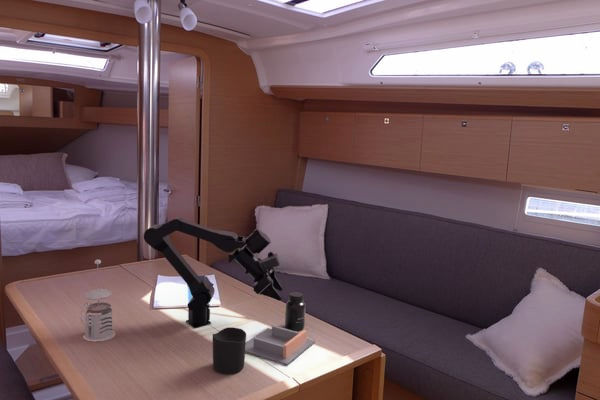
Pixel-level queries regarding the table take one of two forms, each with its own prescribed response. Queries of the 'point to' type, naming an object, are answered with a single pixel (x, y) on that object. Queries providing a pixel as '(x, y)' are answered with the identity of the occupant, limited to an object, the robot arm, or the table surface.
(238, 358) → the pen holder
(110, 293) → the french press
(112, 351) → the table surface
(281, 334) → the bottle holder
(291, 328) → the supplement bottle
